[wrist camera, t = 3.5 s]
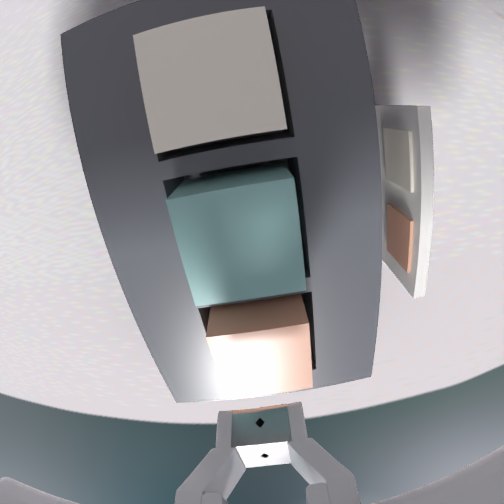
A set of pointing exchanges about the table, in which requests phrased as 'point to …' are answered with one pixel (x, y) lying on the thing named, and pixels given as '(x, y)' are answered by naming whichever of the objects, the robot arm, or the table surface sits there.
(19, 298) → the table surface
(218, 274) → the teal key
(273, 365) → the terracotta key
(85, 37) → the keypad
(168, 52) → the cream key
